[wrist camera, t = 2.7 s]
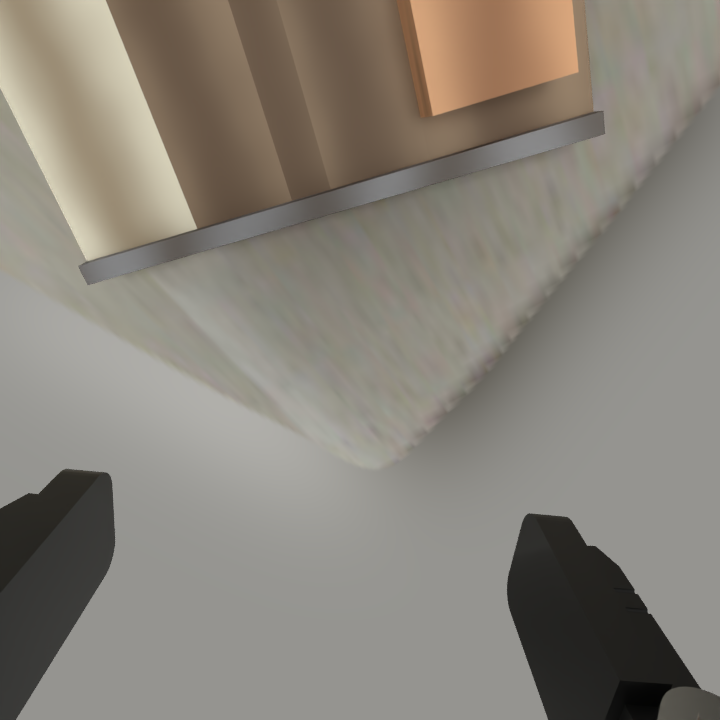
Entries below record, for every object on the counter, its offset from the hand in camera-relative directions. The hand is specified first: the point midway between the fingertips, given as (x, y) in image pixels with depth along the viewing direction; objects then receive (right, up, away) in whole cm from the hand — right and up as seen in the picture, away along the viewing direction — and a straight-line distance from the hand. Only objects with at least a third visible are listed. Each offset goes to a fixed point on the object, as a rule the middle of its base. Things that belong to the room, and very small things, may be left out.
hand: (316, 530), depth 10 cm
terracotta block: (+6, +18, +13) cm, 23 cm away
